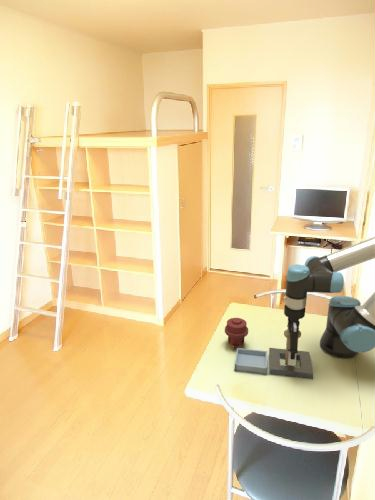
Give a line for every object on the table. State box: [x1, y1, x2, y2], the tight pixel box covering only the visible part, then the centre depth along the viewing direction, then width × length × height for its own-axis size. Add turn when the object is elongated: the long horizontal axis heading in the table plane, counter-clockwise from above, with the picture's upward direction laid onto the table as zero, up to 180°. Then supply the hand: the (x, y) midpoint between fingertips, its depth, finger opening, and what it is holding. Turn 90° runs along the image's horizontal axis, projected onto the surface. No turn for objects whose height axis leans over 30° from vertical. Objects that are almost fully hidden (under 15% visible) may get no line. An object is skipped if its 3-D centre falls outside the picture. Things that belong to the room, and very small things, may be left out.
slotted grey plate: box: [268, 347, 315, 380], centre depth 140 cm, size 16×14×2 cm
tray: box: [234, 347, 268, 376], centre depth 141 cm, size 12×11×3 cm
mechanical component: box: [224, 317, 249, 350], centre depth 152 cm, size 12×10×10 cm
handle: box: [283, 328, 302, 366], centre depth 138 cm, size 5×6×15 cm
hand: (290, 355), depth 139 cm, fingers open, 11 cm apart
